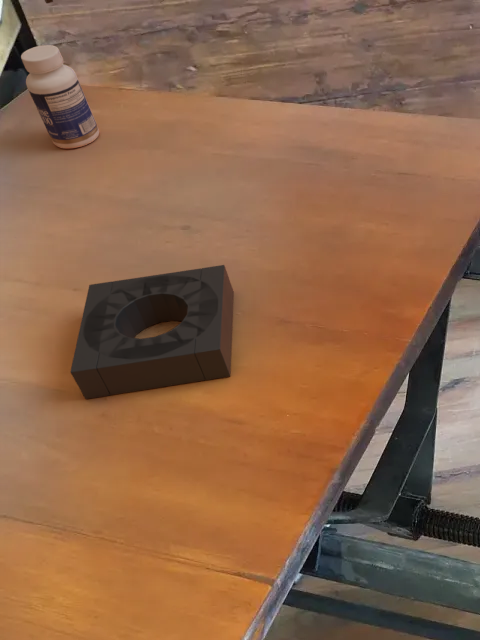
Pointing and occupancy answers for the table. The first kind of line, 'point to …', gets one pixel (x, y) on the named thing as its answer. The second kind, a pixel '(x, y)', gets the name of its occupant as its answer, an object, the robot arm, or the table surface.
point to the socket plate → (163, 350)
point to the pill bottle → (59, 98)
